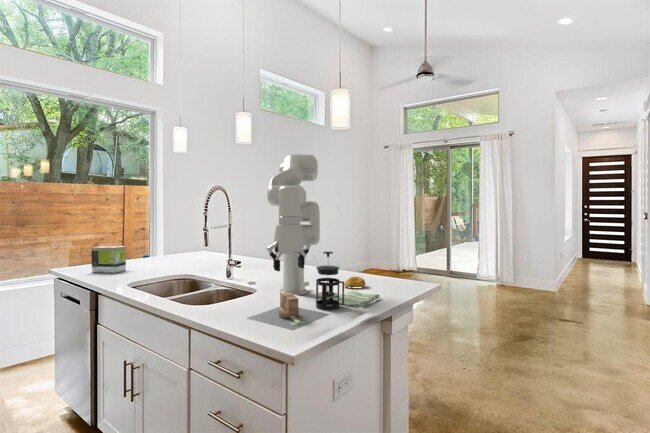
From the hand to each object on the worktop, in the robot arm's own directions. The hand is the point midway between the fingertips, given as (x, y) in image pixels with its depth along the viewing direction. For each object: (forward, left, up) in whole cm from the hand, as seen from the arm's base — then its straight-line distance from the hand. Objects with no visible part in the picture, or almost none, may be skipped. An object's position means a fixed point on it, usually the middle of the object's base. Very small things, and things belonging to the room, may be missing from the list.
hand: (289, 269), depth 134 cm
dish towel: (-34, +6, -19) cm, 39 cm away
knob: (+2, +2, -16) cm, 17 cm away
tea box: (-8, -144, -19) cm, 145 cm away
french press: (-18, +5, -18) cm, 26 cm away
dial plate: (0, 0, -18) cm, 18 cm away
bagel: (-59, -7, -19) cm, 62 cm away
